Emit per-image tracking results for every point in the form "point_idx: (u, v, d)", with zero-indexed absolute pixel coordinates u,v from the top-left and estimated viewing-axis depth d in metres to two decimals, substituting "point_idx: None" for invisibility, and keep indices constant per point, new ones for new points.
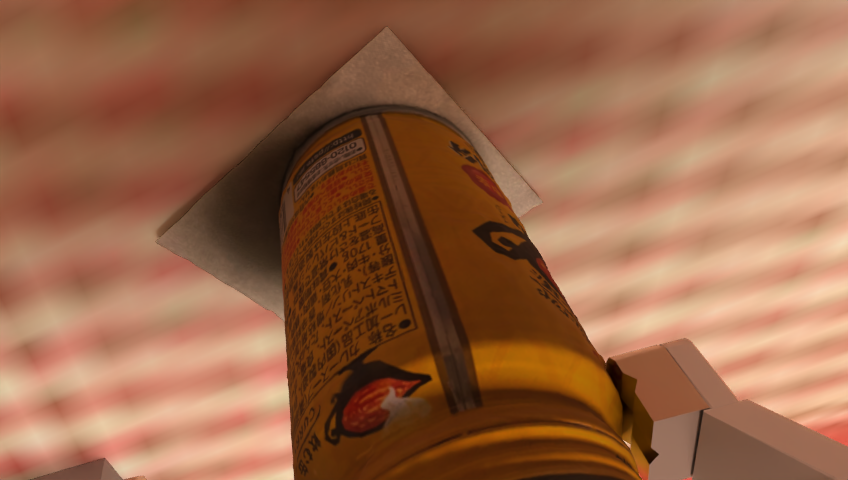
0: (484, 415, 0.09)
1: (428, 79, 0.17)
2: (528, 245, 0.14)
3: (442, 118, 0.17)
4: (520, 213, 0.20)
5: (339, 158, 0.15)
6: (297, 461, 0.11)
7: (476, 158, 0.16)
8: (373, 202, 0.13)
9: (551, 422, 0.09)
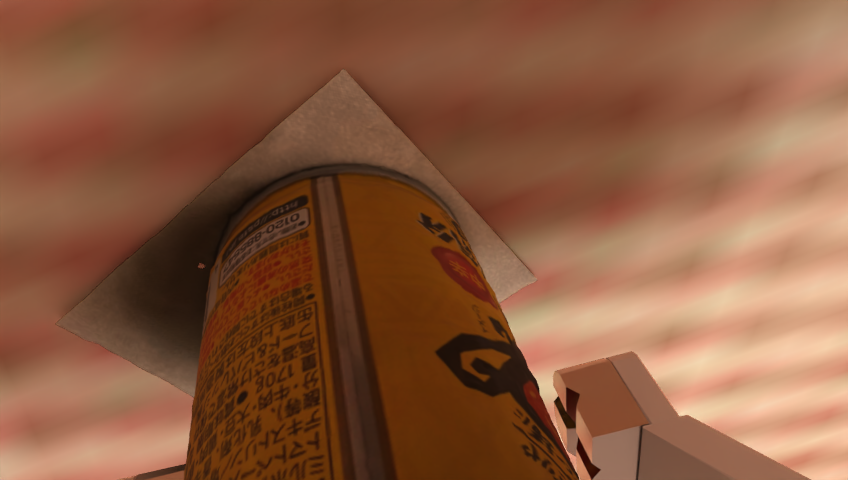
0: None
1: (396, 134, 0.13)
2: (513, 363, 0.10)
3: (414, 181, 0.14)
4: (510, 292, 0.17)
5: (276, 235, 0.12)
6: None
7: (453, 234, 0.13)
8: (307, 302, 0.10)
9: None
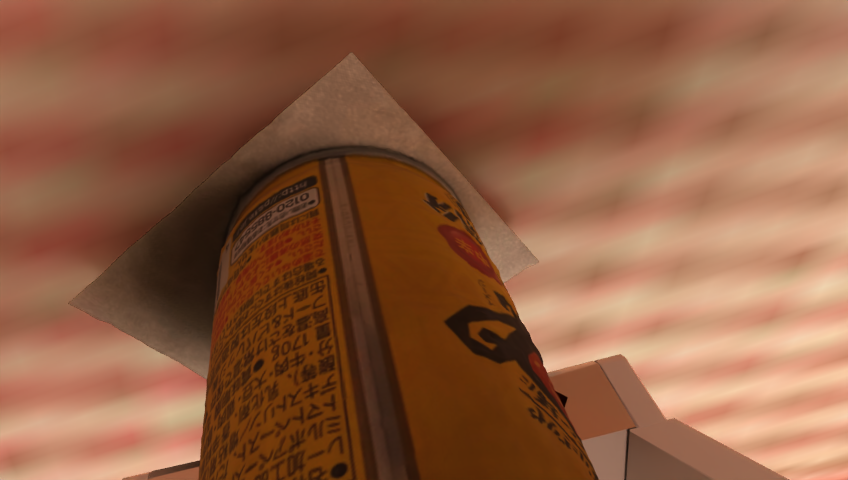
0: None
1: (402, 116, 0.14)
2: (518, 335, 0.11)
3: (419, 163, 0.14)
4: (512, 273, 0.17)
5: (286, 213, 0.12)
6: None
7: (458, 214, 0.13)
8: (319, 276, 0.10)
9: None
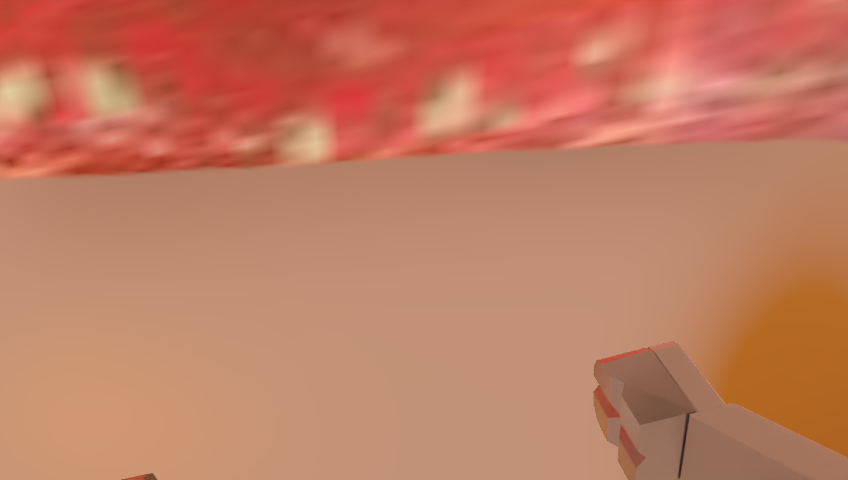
0: None
1: None
2: None
3: None
4: None
5: None
6: None
7: None
8: None
9: None
